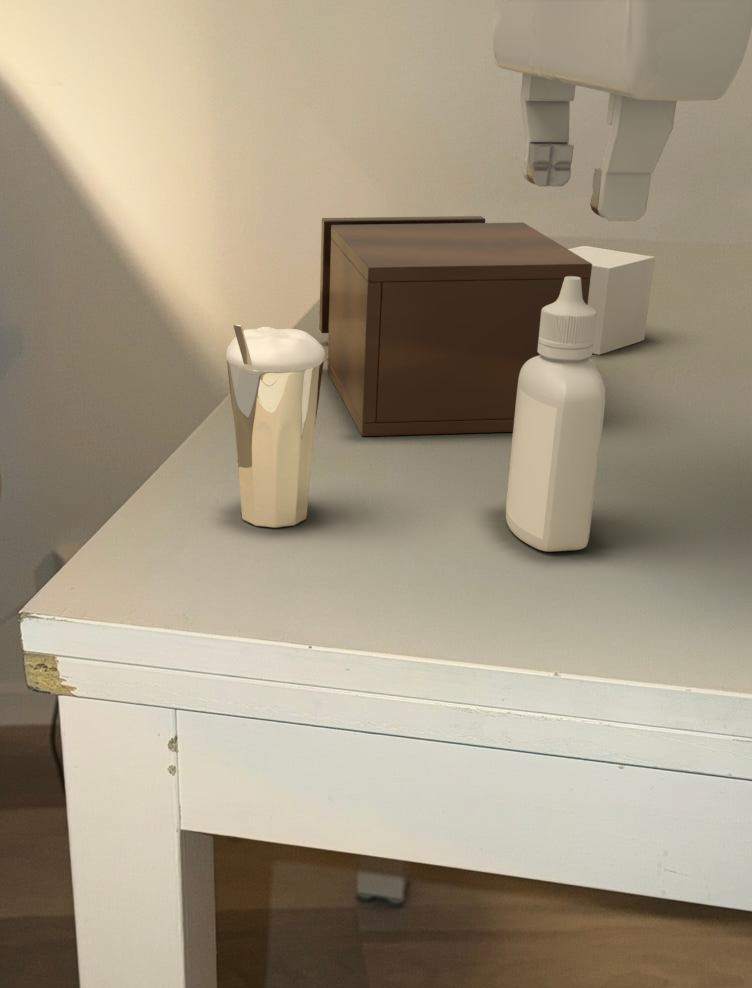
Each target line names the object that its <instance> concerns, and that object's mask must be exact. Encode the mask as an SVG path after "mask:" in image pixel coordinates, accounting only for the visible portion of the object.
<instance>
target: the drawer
mask: <svg viewBox="0 0 752 988" xmlns="http://www.w3.org/2000/svg"><path fill="white" fill-rule="evenodd" d="M448 223H486V218H485V217H483V216H481V215H463V216H462V215H460V216H458V215H457V216H456V215H455V216H451V215H450V216H381V217H379V216H378V217H377V216H376V217H375V216H374V217H373V216H371V217H322V218H321V231H320V235H321V236H320V237H321V238H320V277H319V279H320V280H319V281H320V282H319V321H318V324H319V325H318V329H319V331H320V333H321V334H329V299H330V260H331V225H369V224H448Z"/></svg>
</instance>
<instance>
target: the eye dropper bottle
mask: <svg viewBox="0 0 752 988" xmlns="http://www.w3.org/2000/svg"><path fill="white" fill-rule="evenodd" d="M596 318H597V312H596V310H595V309H594V308H592V307H590V306H588V305H586V304H585V302H584V301H583V298H582V287H581V278H580V277H575V276H567V277H565V278H564V282H563V285H562V288H561V292H560V295H559V298H558V299H557V300H556V301H555V302H554V303H552V304H549V305H547V306H545V307H543V308H542V310H541V319H540V330H539V340H538V350H537V352H538V353H539V354H540V355H539V356H536V357H533V358H531V359H529V360H528V361H527V362H526V363H525V364H524V365H523V366H522V368H521V371H520V374H519V379H518V387H517V396H516V406H515V416H514V427H513V432H512V439H511V449H510V460H509V470H508V480H507V481H508V482H507V492H506V504H505V521H506V523H507V527H508V528H509V530H510V531H511V532H512V533H513V535H514V536H516V538H518V539H519V540H521V541H522V542H524V543H525V544H527V545H529V546H530V547H532V548H534V549H537V550H539V551H543V552H550V553H551V552H567V551H568V552H569V551H579V550H583V549H585V548H586V547H587V546H588V543H589V540H590V533H591V524H592V519H593V517H592V516H593V508H594V501H595V493H596V485H597V476H598V469H599V468H598V467H599V461H600V452H601V444H602V435H603V426H604V417H605V410H606V409H605V407H606V387H605V383H604V379H603V378H602V376H601V373H600V371H599V370H598V368H597V367H596V365H595V364H594V363H593V361H592V360H591V358H590V357H592V356H593V353H592V352H593V344H594V335H595V327H596Z"/></svg>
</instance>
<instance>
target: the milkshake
mask: <svg viewBox="0 0 752 988" xmlns="http://www.w3.org/2000/svg"><path fill="white" fill-rule="evenodd" d="M233 329H234V333H235V336H234V338H233V339H232V340H231V342H230V343H229V344H228V346H227V349H226V355H225V356H226V367H227V376H228V384H229V392H230V394H229V395H230V401H231V410H232V416H233V422H234V432H235V442H236V443H235V444H236V454H237V455H236V457H237V468H238V469H237V470H238V482H239V495H240V507H241V517H242V520H243V521H245V522H247V523H250V524H252V525H254V526H257V527H264V528H274V529H278V528H284V527H291V526H292V527H293V526H296V525H298V524H299V523H301V522H303V521H305V520H306V519H307V515H308V505H309V498H310V497H309V495H310V486H311V475H312V474H311V473H312V464H313V463H312V462H313V454H314V453H313V452H314V443H315V433H316V423H317V417H318V409H319V401H320V394H321V387H322V379H323V371H324V370H323V369H324V362H325V361H324V360H325V357H326V354H325V349H324V348H323V346H322V344H320V342H319V341H318V340H317V339H316V338H314V336H312V335H311V334H310V333H308V332H306V331H304V330H301V329H296V328H273V327H271V326H261V327H258V328H246V329H243V326H242V325H240V324H235V323H234V324H233Z"/></svg>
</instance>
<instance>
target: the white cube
mask: <svg viewBox="0 0 752 988" xmlns="http://www.w3.org/2000/svg"><path fill="white" fill-rule="evenodd" d="M567 249H568V250H570V251H572V252H573V253H575V254H577V255H578V256H580V257H582V258H583V259H585V260H586V261H588V262H590V263H591V264H592V271H591V278H590V288H589V297H588V306H590V307H592V308H594V309H595V310H596V312H597V318H596V327H595V335H594V344H593V352H592V354H594V355H598V356H600V355H603V354H606V353H609V352H612V351H615V350H618V349H621V348H624V347H628V346H631V345H633V344H637V343H640V342H643V341H645V336H646V327H647V321H648V314H649V307H650V306H649V305H650V297H651V293H652V292H651V290H652V282H653V276H654V269H655V268H654V267H655V263H656V262H655V261H656V256H652V255H645V254H639V253H632V252H626V251H619V250H613V249H608V248H607V249H606V248H601V247H595V246H588V245H581V246H576V247H571V248H567Z"/></svg>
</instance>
